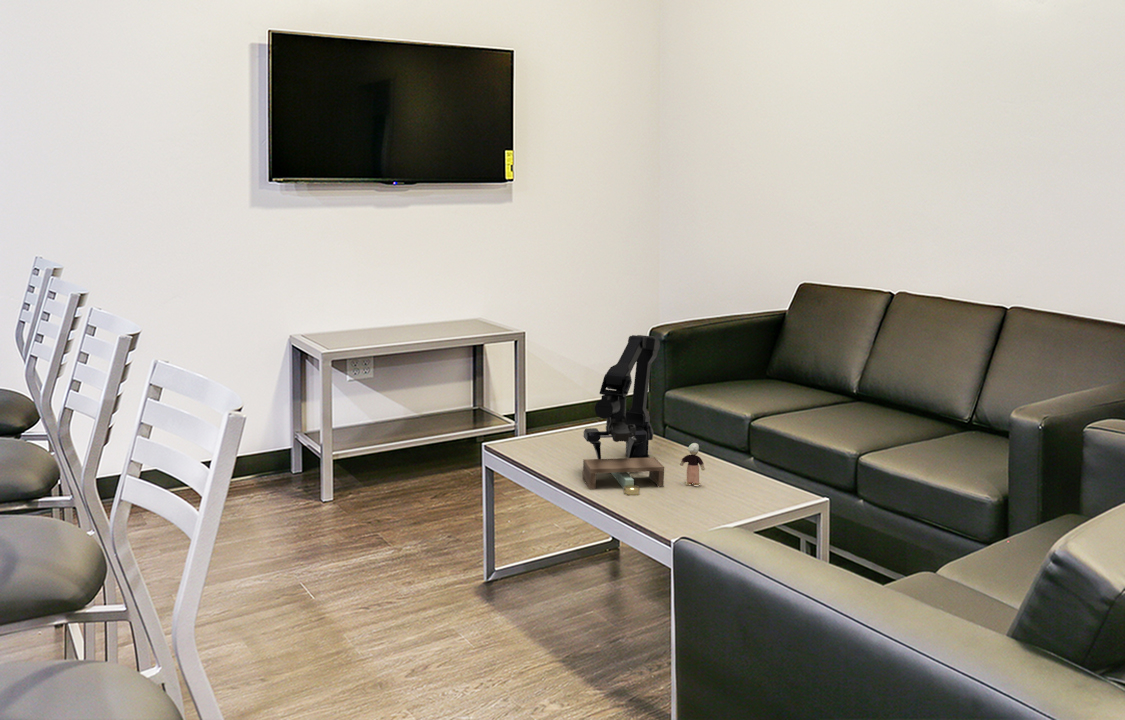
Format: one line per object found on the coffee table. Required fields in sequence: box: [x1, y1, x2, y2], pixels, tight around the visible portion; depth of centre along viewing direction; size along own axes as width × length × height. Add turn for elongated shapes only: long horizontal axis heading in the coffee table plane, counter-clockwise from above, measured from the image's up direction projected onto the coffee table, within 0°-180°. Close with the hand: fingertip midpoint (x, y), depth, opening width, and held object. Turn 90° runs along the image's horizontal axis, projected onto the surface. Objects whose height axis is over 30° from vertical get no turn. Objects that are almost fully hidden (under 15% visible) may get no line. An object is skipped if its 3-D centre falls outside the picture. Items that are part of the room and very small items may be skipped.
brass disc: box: [623, 484, 641, 496], centre depth 270 cm, size 4×4×2 cm
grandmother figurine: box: [679, 442, 706, 485], centre depth 279 cm, size 8×4×13 cm, turn 71°
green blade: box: [610, 472, 635, 489], centre depth 283 cm, size 2×22×4 cm, turn 11°
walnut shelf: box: [582, 456, 665, 490], centre depth 279 cm, size 22×10×6 cm, turn 101°
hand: (614, 461), depth 289 cm, fingers open, 9 cm apart
